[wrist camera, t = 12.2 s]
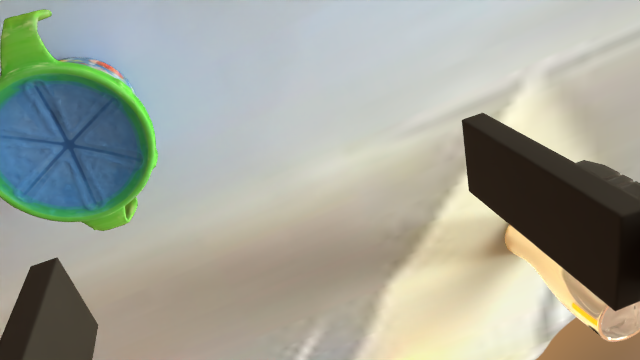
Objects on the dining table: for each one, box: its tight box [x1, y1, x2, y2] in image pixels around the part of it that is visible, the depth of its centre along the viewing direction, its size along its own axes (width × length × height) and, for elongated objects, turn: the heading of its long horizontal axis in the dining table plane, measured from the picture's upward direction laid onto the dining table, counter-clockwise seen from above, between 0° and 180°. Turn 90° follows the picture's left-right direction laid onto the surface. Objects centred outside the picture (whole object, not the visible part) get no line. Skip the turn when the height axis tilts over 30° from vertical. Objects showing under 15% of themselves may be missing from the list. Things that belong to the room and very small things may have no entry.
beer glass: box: [504, 224, 640, 342], centre depth 52 cm, size 7×7×15 cm
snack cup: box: [0, 9, 158, 231], centre depth 36 cm, size 16×10×10 cm
